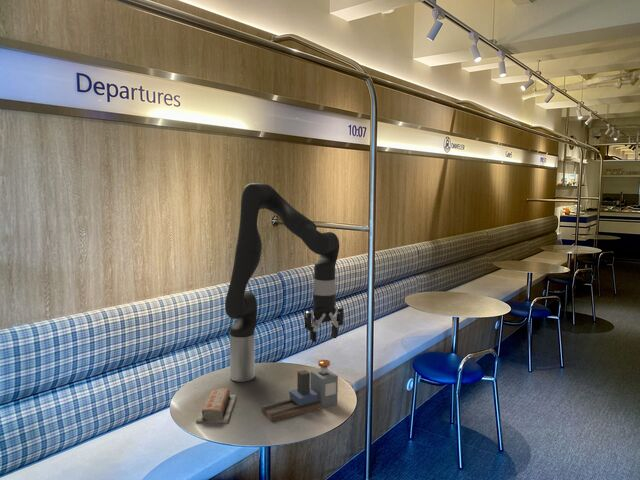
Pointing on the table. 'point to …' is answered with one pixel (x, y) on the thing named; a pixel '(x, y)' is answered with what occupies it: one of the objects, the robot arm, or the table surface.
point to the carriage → (303, 390)
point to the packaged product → (217, 407)
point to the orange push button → (324, 366)
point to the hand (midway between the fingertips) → (324, 339)
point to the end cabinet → (325, 387)
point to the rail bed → (287, 409)
